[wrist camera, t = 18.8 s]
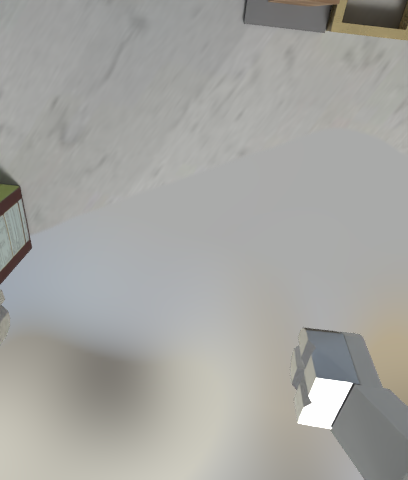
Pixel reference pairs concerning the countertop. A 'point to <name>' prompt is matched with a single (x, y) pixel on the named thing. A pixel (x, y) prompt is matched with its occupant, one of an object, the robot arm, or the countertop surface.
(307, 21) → the mat
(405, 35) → the socket
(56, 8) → the countertop surface
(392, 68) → the countertop surface
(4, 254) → the protein box
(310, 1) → the brown wooden block
